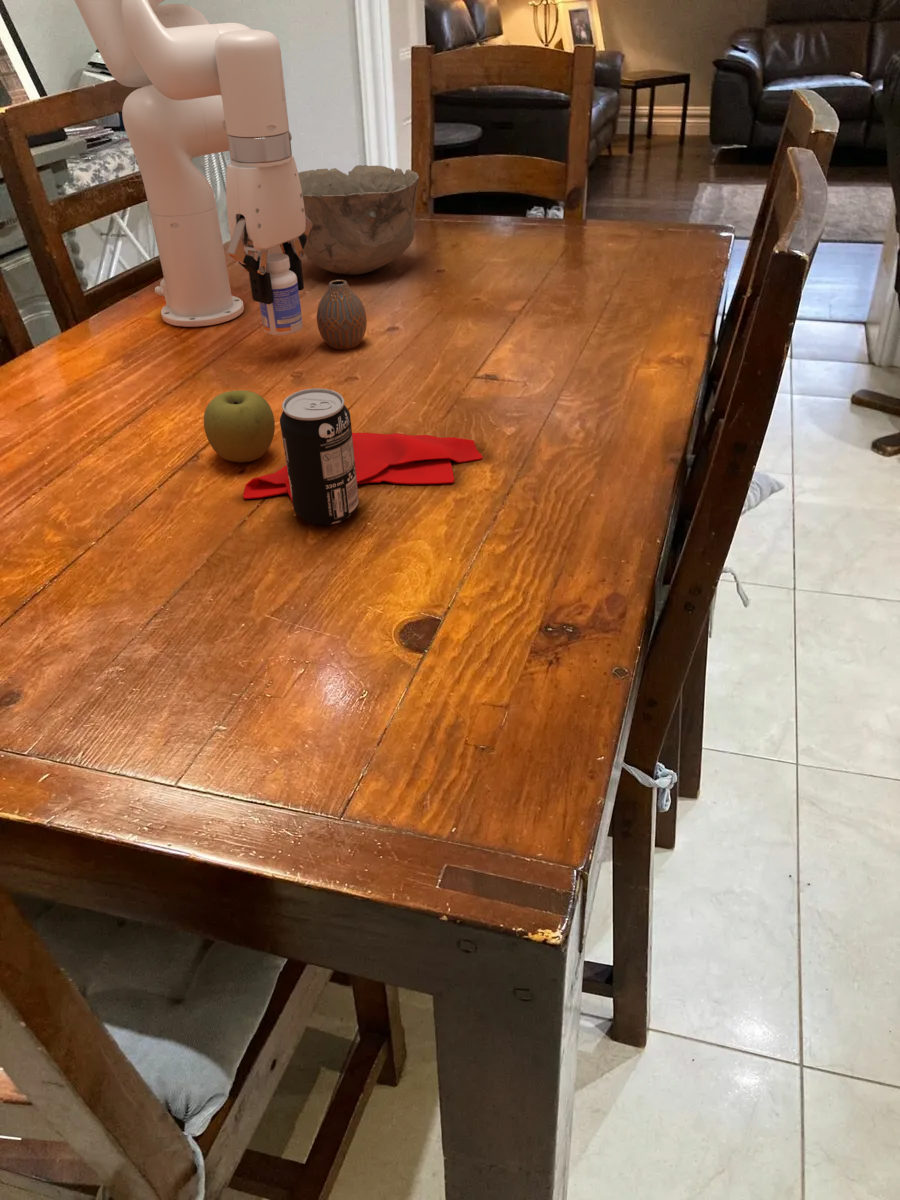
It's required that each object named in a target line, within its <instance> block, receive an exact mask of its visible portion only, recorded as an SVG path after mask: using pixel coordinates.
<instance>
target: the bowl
mask: <svg viewBox="0 0 900 1200" xmlns="http://www.w3.org/2000/svg"><path fill="white" fill-rule="evenodd" d="M347 172H348V173H345V172H342V171H341V170H339V169H338V168H336V167H333V168H330V169H328V168H317V169H310V170H303V171H299V172H298V174H299V179H300V184H301V189H302V195H303V201H304V209H305V215H306V216H307V217H308V218H309V220H310V221H311V222H312V228H311V230H310V233H309V235H308V237H307V241H306V244H305V246H304V249H303V251H304V256H306V258H307V259H308V260H309V261H310V262H311V263H312V264H313V265H315V266H316V267H318V268H320V269H322V270H324V271H327V272H329V273H333V274H339V275H347V276H357V275H358V276H359V275H365V274H367V273H368V274H369V273H371V272H373V271H375V270H377V269H380V268H381V267H383V266H385V265H388V264H389V263H391V262H392V261H394V260H395V259H397V258H398V257H400V256H402V255H403V254H404V253H405V252H406V250H407V249H408V248H409V247H410V246H411V245H412V243H413V240H414V239H415V230H416V229H415V228H416V214H417V200H418V196H417V195H418V194H417V193H418V187H419V182H420V176H419V174H418V172H417V171H414V170H412V169H409V168H408V169H406V170H405V172H403V170H402V169H401V168H398V167H395V169H393V168H391V167H387V166H386V165H385V166H384V165H368V164H363V165H362V164H358V165H355V166H354V167H353V168H352V169H351V170H350V171H347Z"/></svg>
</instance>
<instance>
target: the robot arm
mask: <svg viewBox="0 0 900 1200" xmlns="http://www.w3.org/2000/svg"><path fill="white" fill-rule="evenodd" d="M73 1H74V2H75V5H76V7H77V9H78V11H79V13H80V15H81V17H82V19H83V21H84V24H85V26H86V28H87V31H88V32H89V34H90V36H91V39H92V40H93V42H94V44H95V46H96V48H97V51H98V52H99V55H100V57H101V59H102V60H103V63H104V64H105V67H106V68H107V69H108V72H109V73H110V75H111V76H112V78H113V79H114V80H115V81H116V82H117V83H119V84H120V85H122V86H124V87H127V88H128V87H129V88H137V89H135V90H133V91H132V92H130V93H129V94H128V96H126V98H125V100H124V102H123V105H122V110H121V112H122V113H121V115H122V116H121V117H122V123H123V126H124V131H125V133H126V136H127V139H128V142H129V143H130V144H129V145H131V146H130V147H131V149H132V152H133V154H134V157H135V160H136V163H137V167H138V169H139V173H140V176H141V179H142V183H143V186H144V187H143V188H144V191H145V196H146V200H147V205H148V211H149V214H150V218H151V224H152V228H153V232H154V238H155V242H156V247H157V252H158V256H159V261H160V267H161V270H162V271H161V272H162V275H163V278H162V279H161V280H160V283H159V285H156V286H154V287H155V288H154V294H155V295H156V296H160V297H164V301H165V305H164V306H163V307H162V308H161V310H160V315H161V319H162V321H163V322H165V323H166V324H168V325H171V326H175V327H181V328H197V327H198V328H200V327H208V326H214V325H218V324H219V325H220V324H223V323H226V322H229V321H232V320H234V319H237V317H240V315H242V313H243V312H244V310H245V305H244V301H243V300H242V299H241V298H240V297H238V296H234V295H233V294H232V290H231V283H230V277H229V272H228V271H229V270H228V266H227V261H226V260H227V259H226V254H225V249H224V248H225V247H224V244H223V237H222V231H221V225H220V219H219V213H218V208H217V207H218V206H217V203H216V198H215V193H214V190H213V187H212V185H211V184H210V182H209V181H208V179H207V177H205V176H204V174H203V173H201V171H200V170H199V169H198V167H196V166H195V165H194V163H193V161H192V160H193V159H195V158H200V157H202V156H207V155H213V154H219V153H225V152H229V158H230V163H228V164H226V171H225V173H226V175H225V198H226V212H227V222H228V231H229V237H230V242H229V245H228V248H227V255H228V256H230V258H232V259H234V260H235V261H237V263H238V264H239V265H240V266H241V267H242V268H243V271H244V272H248V276H249V283H250V290H251V296H252V297H251V298H252V300H253V301H254V302H257V303H259V302H261V303H265V304H271V303H273V292H272V285H271V277H270V273H267V272H266V264H267V254H268V253H269V252H268V251H269V249H272V248H275V247H277V246H279V247H280V250H281V253H283V254H286V255H288V256H289V262H290V268H289V270H291V271H292V272H294V273H295V274H296V276H297V282H298V290H299V292H301V291H303V290H304V289H305V283H304V275H303V266H302V265H303V264H302V259H304V256H305V254H304V251H303V249H304V246H305V244H306V241H307V237H308V235H309V233H310V230H311V228H312V222H311V221H310V220H309V218H308V217H307V216H306V215H305V209H304V201H303V195H302V189H301V184H300V179H299V174H298V173H299V172H298V166H297V163H296V159H295V156H294V155H293V152H292V143H291V142H292V139H293V138H292V137H293V136H292V134H291V132H290V126H289V116H288V106H287V99H286V97H287V96H286V88H285V80H284V79H285V78H284V71H283V60H282V59H283V58H282V51H281V45H280V42H279V39H278V37H277V36H276V35H275V34H274V33H272V32H271V31H268V30H265V29H264V30H263V29H252V28H251V27H249V26H248V25H245V24H243V23H240V22H221V23H210V22H209V21H208V20H207V18H206V17H205V16H204V15H203V14H202V12H200V11H199V10H198V9H197V8H195V7H193V6H191V5H188V4H183V3H170V4H169V3H168V4H162V3H163V2H164V1H165V0H73ZM255 253H257V257H256V258H257V259H255Z"/></svg>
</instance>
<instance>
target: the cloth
mask: <svg viewBox="0 0 900 1200" xmlns="http://www.w3.org/2000/svg"><path fill="white" fill-rule="evenodd" d="M352 438H353V448H354V458H355V467H356V477H357V485H363V484H370V483H371V484H373V483H374V484H375V483H379V484H380V483H381V482H386V483H391V484H396V485H399V484H400V485H439V484H441V485H442V484H453V483H454V482H455V477H454V471H453V466H452V463H451V461H453V462H456V463H458V464H462V463H466V462H473V461H481V460H483V457H484V456H483V455H482V453H480V451H478V449H477V446H476V443H475V440H473V439H468V438H461V437H455V436H447V437H445V436H444V437H439V436H434V435H430V434H416V435H415V434H414V435H413V434H404V433H398V432H394V433H388V434H387V433H376V432H352ZM242 493H243V494H242V498H243V499H244V500H250V499H263V498H267V497H268V498H269V497H272V496H273V497H274V496H279V495H285V494H288V496H289V499H290V501H291V503H292V504H293V502H292V496H291V489H290V483H289V477H288V470H287V464H285V465H284V466H283V467H281V468H280V469H279V470H277V471H276V472H273V473H267V474H263V475H261V476H258V477H253V478H251V479H250V480H249V481H248V482H247V483H246V484H245V485H244V490H243V492H242Z"/></svg>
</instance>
